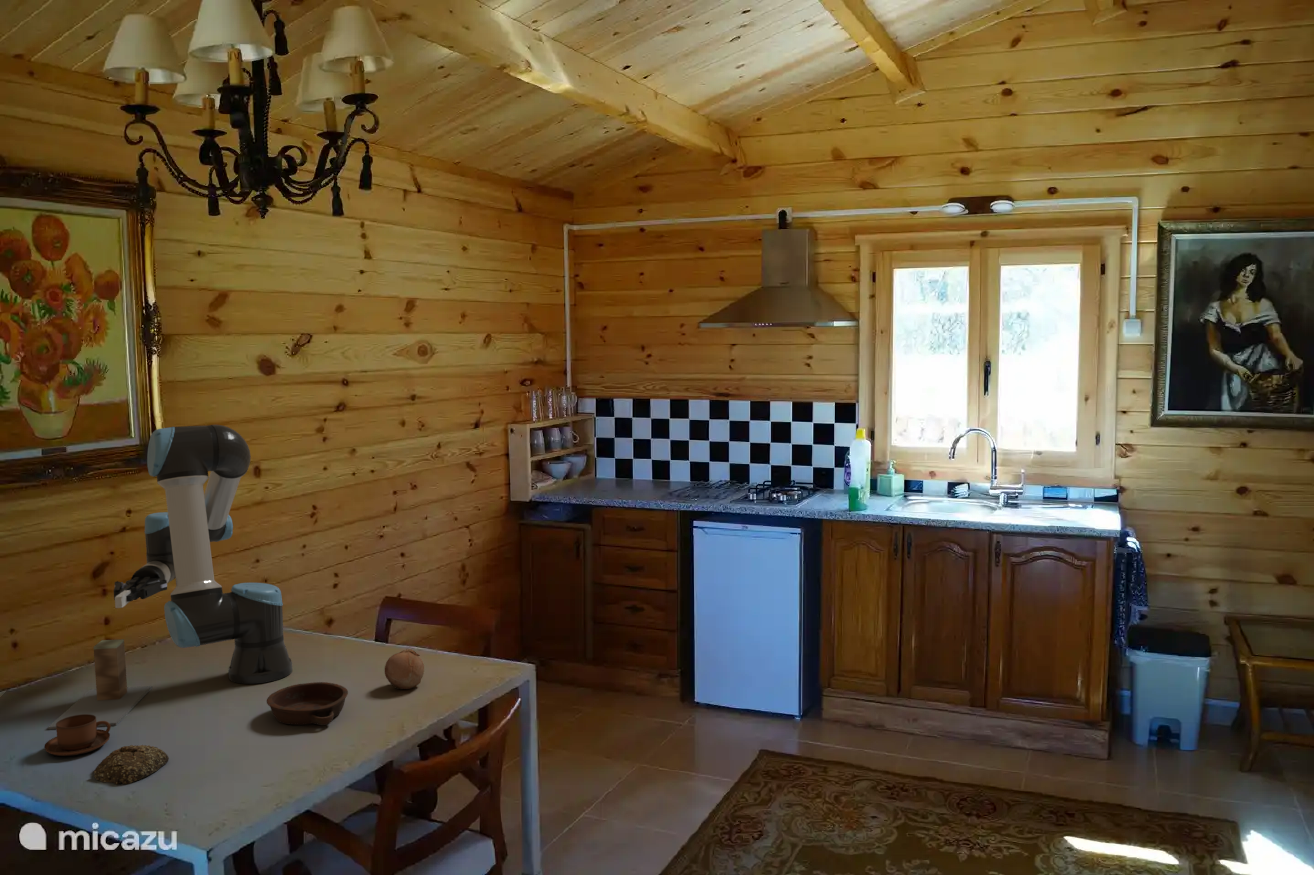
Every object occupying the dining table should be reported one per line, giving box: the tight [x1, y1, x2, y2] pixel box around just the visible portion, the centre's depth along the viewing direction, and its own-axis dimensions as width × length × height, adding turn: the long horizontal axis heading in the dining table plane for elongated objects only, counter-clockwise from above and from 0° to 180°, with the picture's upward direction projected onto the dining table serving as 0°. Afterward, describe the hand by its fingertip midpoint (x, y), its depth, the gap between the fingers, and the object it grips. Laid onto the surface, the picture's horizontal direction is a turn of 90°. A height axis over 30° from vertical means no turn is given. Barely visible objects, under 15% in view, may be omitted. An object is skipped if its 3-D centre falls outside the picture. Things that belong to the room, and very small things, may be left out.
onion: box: [384, 648, 425, 691], centre depth 250 cm, size 10×9×10 cm
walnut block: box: [93, 639, 128, 700], centre depth 243 cm, size 5×5×13 cm
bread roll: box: [93, 744, 170, 786], centre depth 204 cm, size 13×12×5 cm
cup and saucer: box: [44, 714, 112, 757], centre depth 214 cm, size 12×12×6 cm
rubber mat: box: [47, 685, 153, 730], centre depth 237 cm, size 14×24×1 cm, turn 9°
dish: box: [266, 681, 349, 726], centre depth 232 cm, size 18×22×5 cm
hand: (118, 602), depth 248 cm, fingers closed
